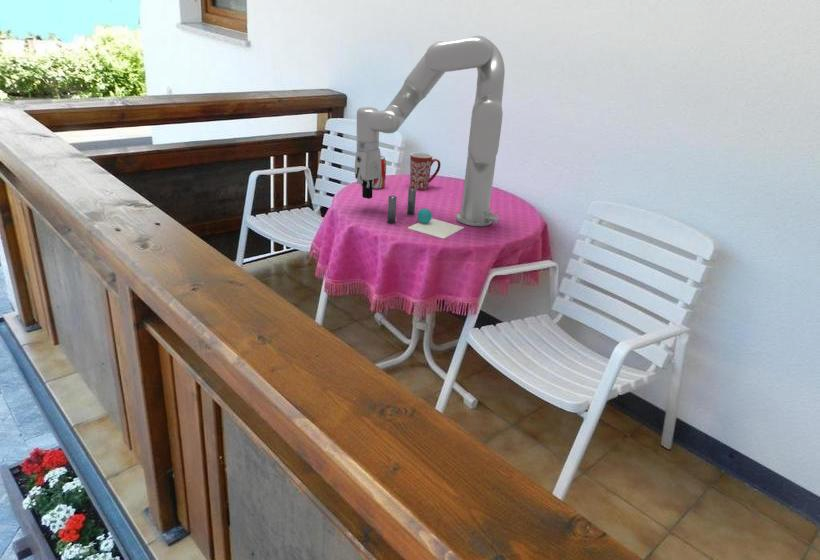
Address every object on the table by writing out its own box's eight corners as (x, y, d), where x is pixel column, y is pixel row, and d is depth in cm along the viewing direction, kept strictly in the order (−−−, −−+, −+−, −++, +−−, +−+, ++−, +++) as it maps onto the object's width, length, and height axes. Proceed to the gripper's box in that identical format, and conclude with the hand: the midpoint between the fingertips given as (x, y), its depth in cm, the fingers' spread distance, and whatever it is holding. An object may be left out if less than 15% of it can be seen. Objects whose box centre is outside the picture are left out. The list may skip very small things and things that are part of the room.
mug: (410, 191, 234) (412, 157, 228) (405, 184, 242) (407, 151, 236) (441, 191, 237) (444, 157, 231) (435, 184, 245) (438, 152, 239)
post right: (415, 214, 209) (417, 189, 205) (411, 215, 207) (413, 190, 203) (409, 212, 211) (411, 187, 207) (405, 214, 209) (407, 189, 205)
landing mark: (464, 227, 200) (464, 227, 200) (443, 239, 189) (443, 238, 189) (428, 218, 206) (428, 217, 206) (406, 228, 196) (406, 227, 195)
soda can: (384, 190, 233) (386, 160, 228) (366, 188, 233) (367, 158, 228) (385, 185, 239) (387, 155, 234) (368, 183, 239) (369, 154, 234)
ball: (429, 204, 201) (418, 211, 204) (422, 207, 197) (412, 214, 200) (437, 216, 201) (426, 223, 204) (430, 220, 197) (419, 227, 200)
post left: (396, 222, 200) (398, 196, 196) (392, 224, 198) (393, 198, 194) (390, 220, 201) (391, 195, 197) (385, 222, 199) (387, 196, 195)
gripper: (363, 150, 193) (363, 204, 201) (389, 143, 205) (388, 194, 213) (345, 147, 197) (345, 200, 205) (371, 140, 208) (371, 190, 216)
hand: (367, 197), depth 209 cm, fingers closed
